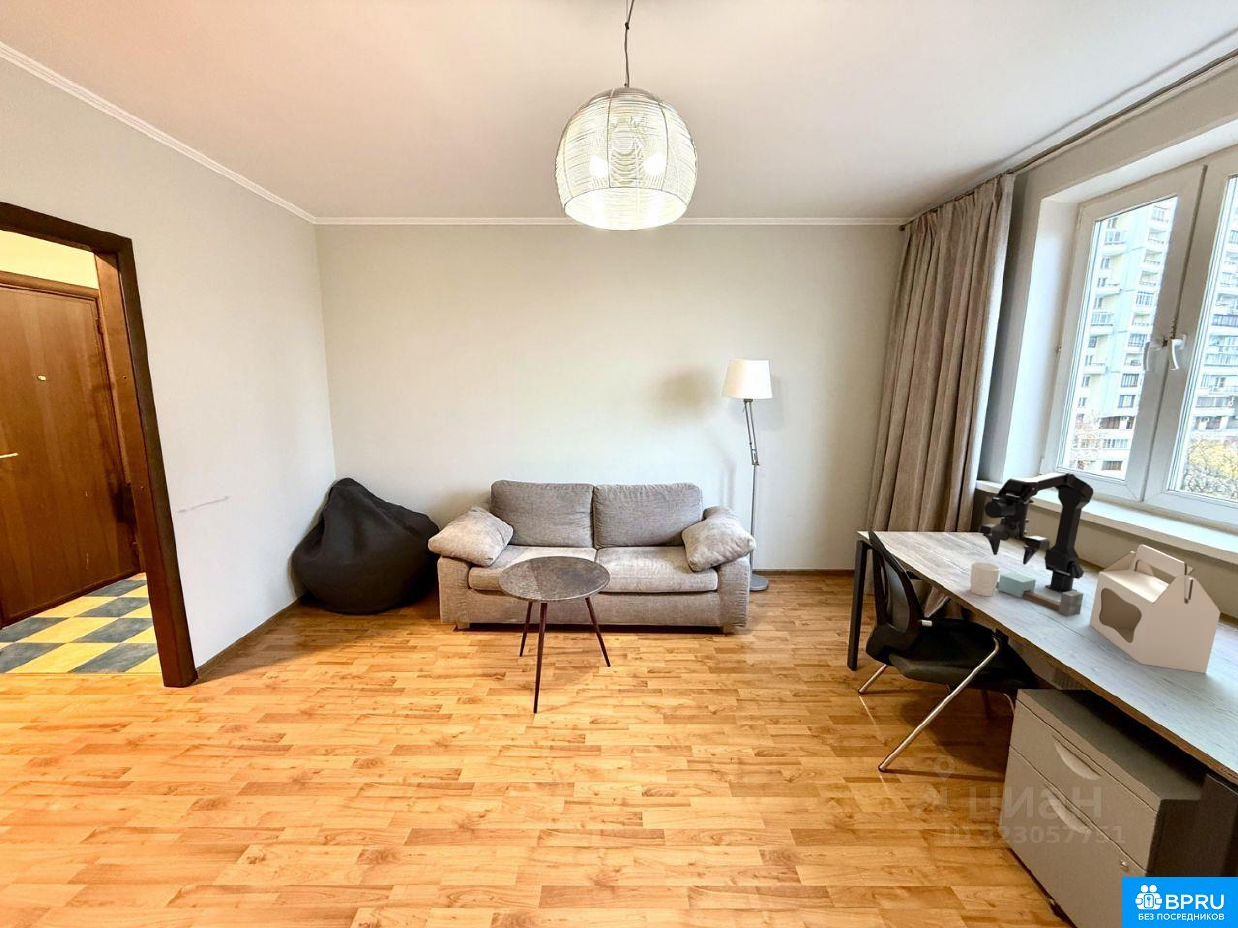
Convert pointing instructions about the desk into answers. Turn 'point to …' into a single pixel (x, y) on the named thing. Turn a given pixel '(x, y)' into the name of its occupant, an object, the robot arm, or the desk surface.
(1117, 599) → the gable box
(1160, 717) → the desk surface
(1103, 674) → the desk surface
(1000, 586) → the block
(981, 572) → the white cup
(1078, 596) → the rail
